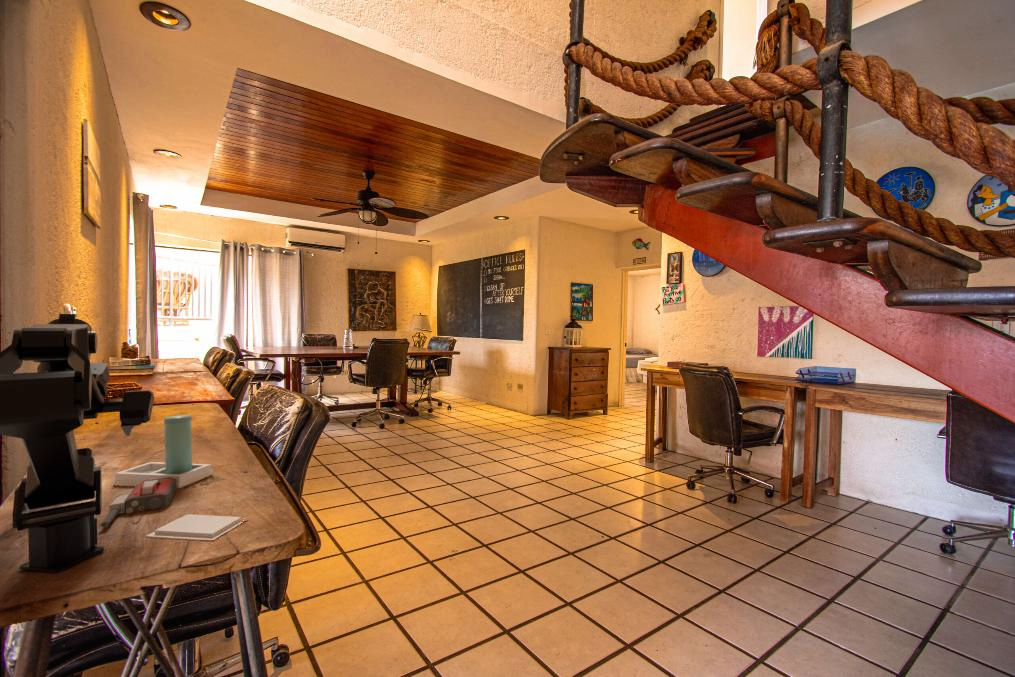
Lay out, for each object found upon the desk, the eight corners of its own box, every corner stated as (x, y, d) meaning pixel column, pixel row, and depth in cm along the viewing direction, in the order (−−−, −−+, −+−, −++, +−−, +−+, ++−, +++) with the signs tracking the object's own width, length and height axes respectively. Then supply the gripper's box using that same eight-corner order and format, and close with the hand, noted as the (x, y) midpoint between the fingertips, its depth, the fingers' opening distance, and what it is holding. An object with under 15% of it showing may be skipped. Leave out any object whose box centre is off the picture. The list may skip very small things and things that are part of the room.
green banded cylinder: (183, 478, 97) (182, 419, 96) (159, 479, 96) (158, 419, 96) (197, 471, 102) (196, 414, 101) (174, 472, 101) (173, 415, 101)
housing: (178, 488, 94) (178, 476, 94) (113, 485, 96) (113, 473, 96) (212, 474, 103) (212, 463, 103) (151, 472, 105) (151, 461, 105)
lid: (248, 523, 78) (248, 515, 78) (213, 545, 70) (212, 536, 70) (187, 519, 80) (187, 512, 80) (145, 540, 72) (145, 532, 72)
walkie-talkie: (126, 496, 91) (95, 535, 73) (125, 474, 91) (94, 508, 73) (179, 488, 95) (161, 523, 78) (178, 468, 95) (161, 498, 78)
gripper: (150, 347, 82) (165, 398, 93) (10, 349, 74) (43, 405, 84) (139, 394, 76) (157, 444, 86) (-17, 403, 67) (22, 457, 77)
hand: (97, 436), depth 83 cm, fingers open, 9 cm apart
